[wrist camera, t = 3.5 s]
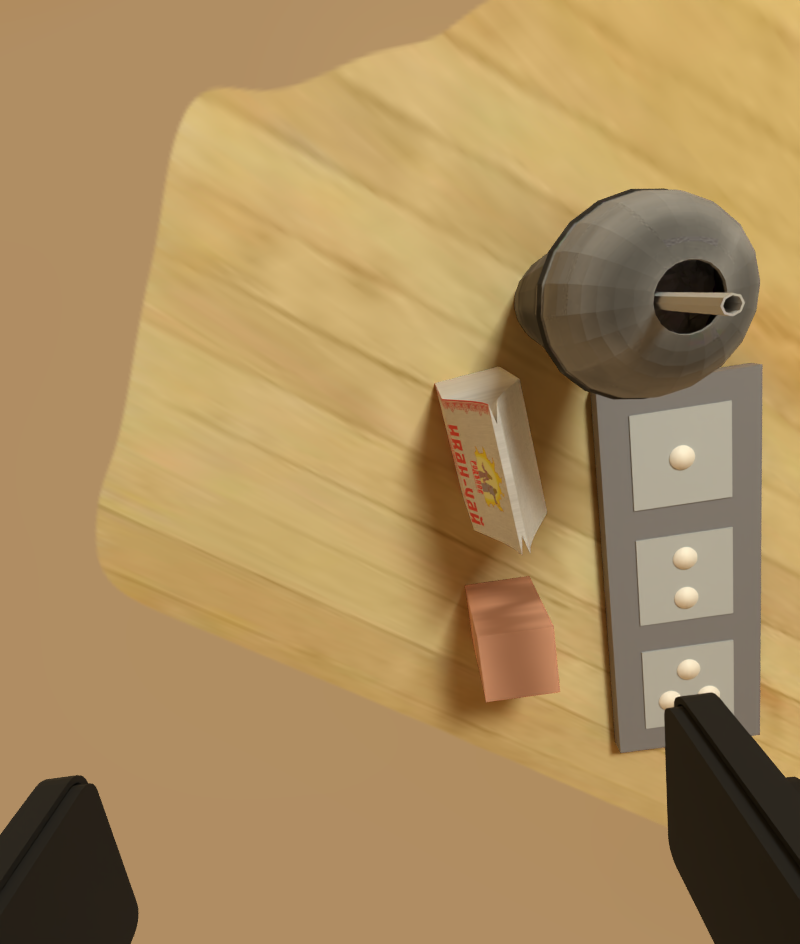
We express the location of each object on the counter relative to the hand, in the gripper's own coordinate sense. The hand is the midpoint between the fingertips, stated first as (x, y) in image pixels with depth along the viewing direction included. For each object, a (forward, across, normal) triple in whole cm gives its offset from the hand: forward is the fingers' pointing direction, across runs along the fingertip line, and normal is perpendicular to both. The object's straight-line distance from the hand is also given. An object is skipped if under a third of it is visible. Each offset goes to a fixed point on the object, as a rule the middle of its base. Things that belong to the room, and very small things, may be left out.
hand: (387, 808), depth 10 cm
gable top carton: (+26, -5, 0) cm, 26 cm away
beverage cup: (+26, -10, -7) cm, 29 cm away
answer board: (+26, -16, +10) cm, 32 cm away
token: (+26, -5, +11) cm, 29 cm away
